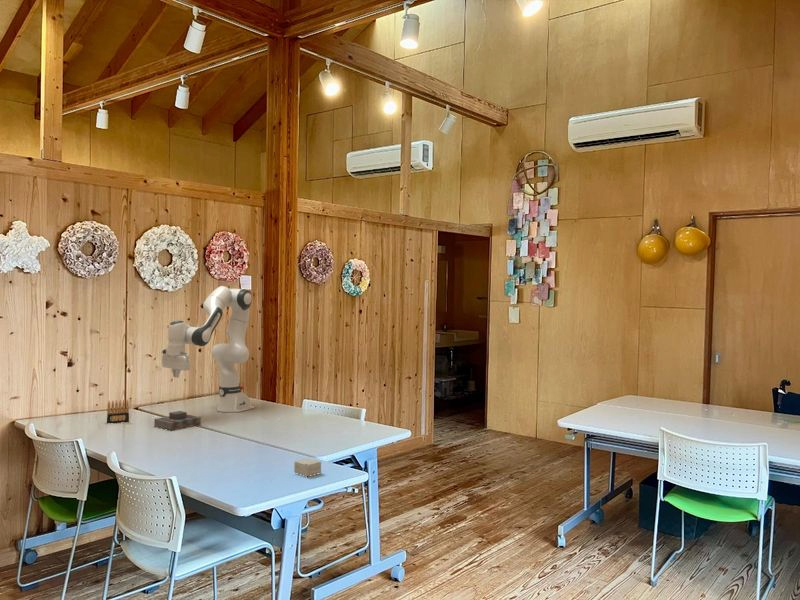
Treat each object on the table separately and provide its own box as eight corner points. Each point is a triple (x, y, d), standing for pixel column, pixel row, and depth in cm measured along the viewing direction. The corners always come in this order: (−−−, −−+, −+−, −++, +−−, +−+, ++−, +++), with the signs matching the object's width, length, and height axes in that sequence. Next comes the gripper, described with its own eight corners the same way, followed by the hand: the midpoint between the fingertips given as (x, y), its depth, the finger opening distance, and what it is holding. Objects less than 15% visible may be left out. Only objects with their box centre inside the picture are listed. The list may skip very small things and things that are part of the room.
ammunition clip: (128, 421, 335) (129, 399, 335) (129, 422, 334) (129, 399, 333) (106, 423, 330) (106, 400, 329) (107, 424, 328) (107, 401, 328)
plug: (179, 421, 332) (180, 410, 332) (186, 423, 329) (186, 412, 329) (169, 423, 327) (169, 412, 327) (175, 425, 324) (175, 414, 324)
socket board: (184, 421, 339) (184, 412, 339) (200, 425, 331) (200, 416, 331) (154, 426, 325) (154, 417, 325) (170, 431, 317) (170, 421, 316)
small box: (308, 469, 258) (309, 457, 258) (321, 474, 253) (321, 461, 253) (293, 473, 252) (293, 461, 252) (306, 478, 247) (306, 465, 247)
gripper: (193, 352, 331) (193, 378, 332) (170, 349, 343) (169, 374, 344) (183, 353, 326) (182, 380, 327) (159, 350, 338) (159, 375, 338)
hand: (175, 377), depth 335 cm, fingers closed
